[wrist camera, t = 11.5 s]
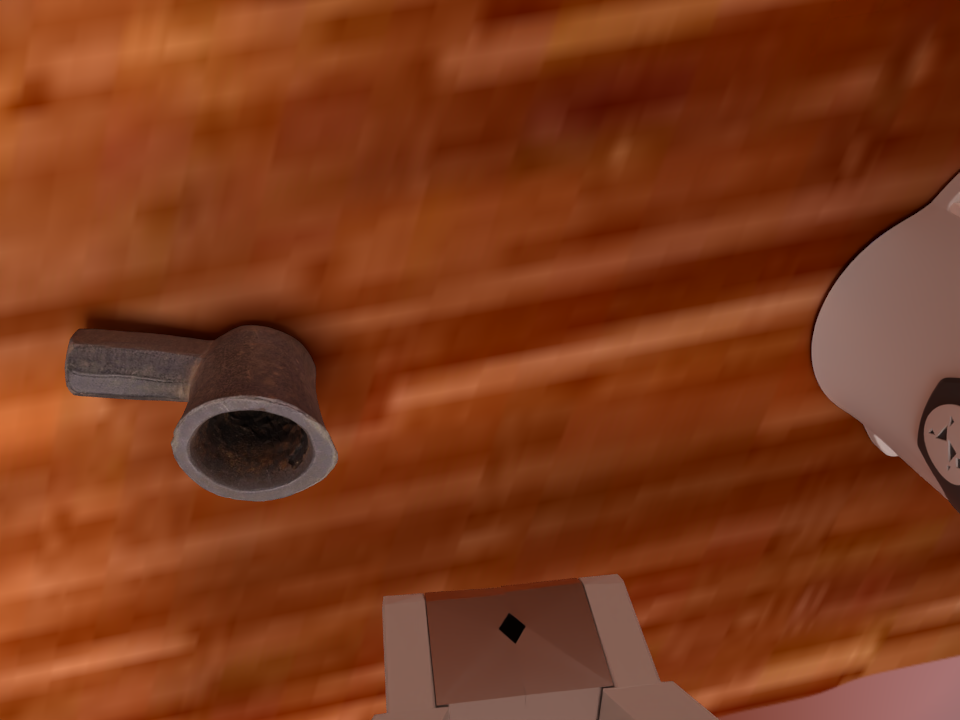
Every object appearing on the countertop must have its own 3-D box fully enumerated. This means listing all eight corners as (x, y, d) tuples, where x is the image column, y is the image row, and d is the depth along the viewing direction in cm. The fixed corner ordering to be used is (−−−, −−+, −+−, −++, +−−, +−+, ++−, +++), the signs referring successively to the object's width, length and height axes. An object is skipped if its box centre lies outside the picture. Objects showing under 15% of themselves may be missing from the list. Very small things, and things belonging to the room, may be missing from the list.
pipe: (83, 286, 41) (30, 376, 34) (347, 318, 43) (346, 407, 37) (86, 389, 44) (38, 490, 37) (333, 413, 46) (330, 511, 40)
